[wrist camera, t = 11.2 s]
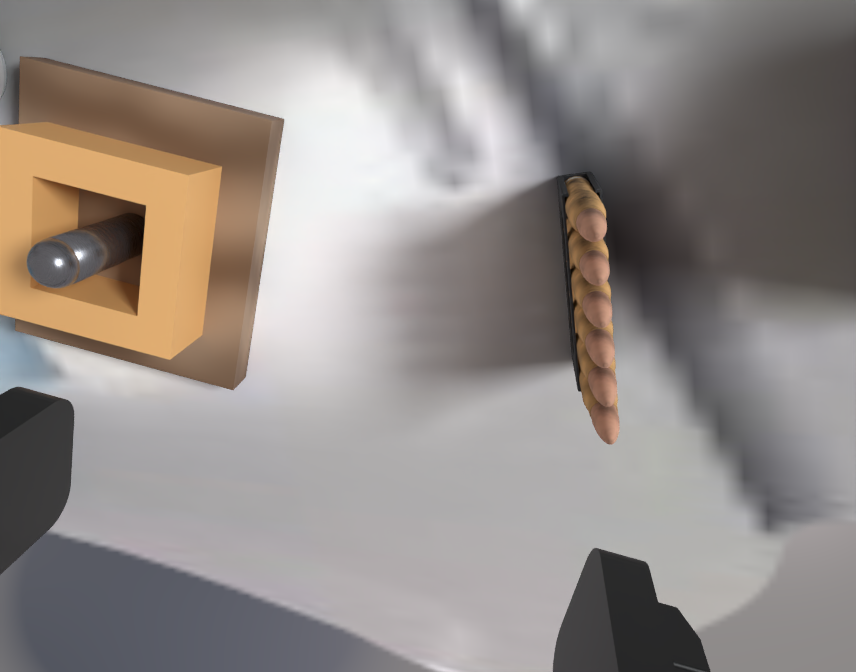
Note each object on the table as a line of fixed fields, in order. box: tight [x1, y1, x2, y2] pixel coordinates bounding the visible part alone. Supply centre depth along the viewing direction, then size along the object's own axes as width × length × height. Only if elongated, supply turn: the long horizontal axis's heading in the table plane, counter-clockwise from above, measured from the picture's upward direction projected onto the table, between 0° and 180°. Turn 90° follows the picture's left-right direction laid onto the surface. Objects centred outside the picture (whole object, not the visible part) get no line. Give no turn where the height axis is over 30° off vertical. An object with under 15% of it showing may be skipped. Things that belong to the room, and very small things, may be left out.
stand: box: [15, 56, 284, 390], centre depth 37 cm, size 16×14×10 cm
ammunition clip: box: [557, 172, 619, 444], centre depth 33 cm, size 11×2×12 cm, turn 8°
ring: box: [0, 122, 222, 360], centre depth 38 cm, size 10×10×4 cm
